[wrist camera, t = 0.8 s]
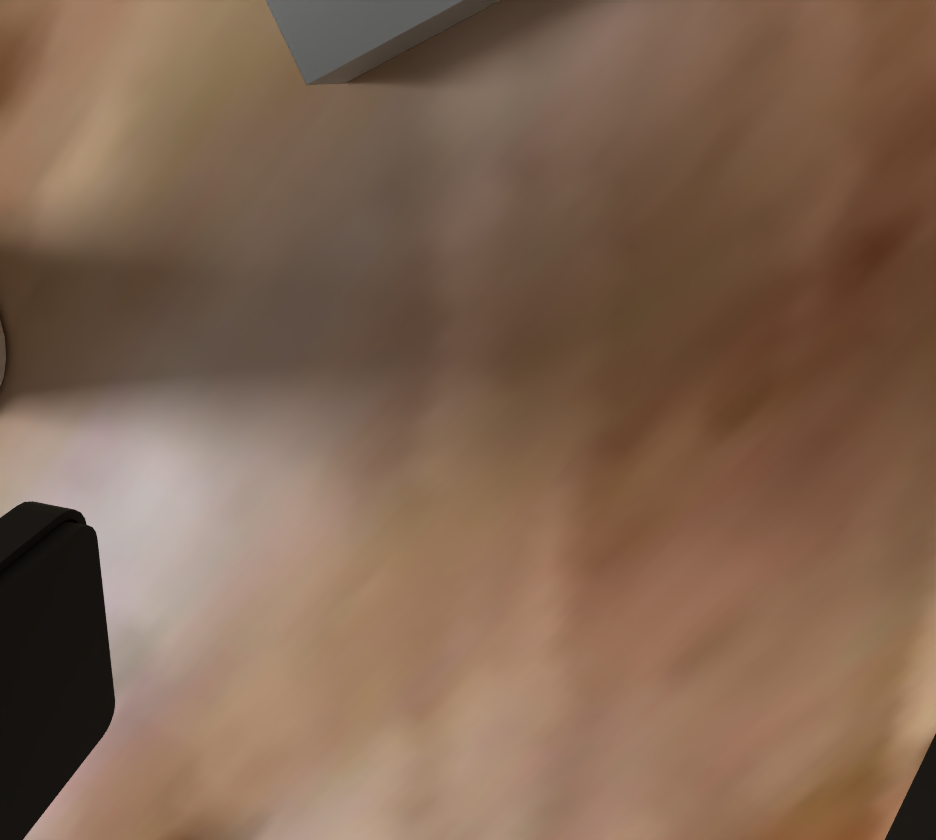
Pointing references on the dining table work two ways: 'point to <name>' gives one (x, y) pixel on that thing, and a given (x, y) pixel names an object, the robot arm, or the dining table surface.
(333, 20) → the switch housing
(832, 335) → the dining table surface
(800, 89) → the dining table surface
